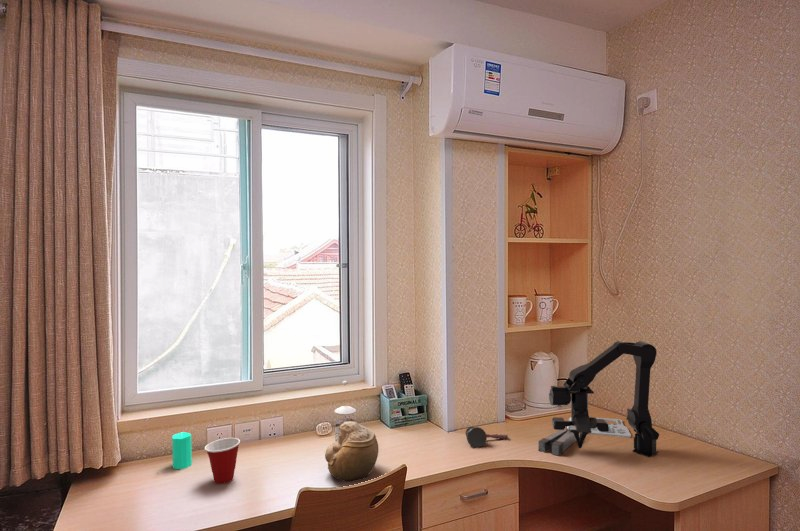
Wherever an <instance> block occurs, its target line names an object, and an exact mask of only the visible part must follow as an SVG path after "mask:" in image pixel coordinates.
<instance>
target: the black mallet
mask: <svg viewBox="0 0 800 531" xmlns="http://www.w3.org/2000/svg"><path fill="white" fill-rule="evenodd" d="M465 437H466V441H467V443H468V444H469V447H470V446H471V447H472V448H474V449H475V448H476V449H478V448H479V449H480V448H482V447H483V446H484V445H485V444H486V443H487V438H492V439H496V440H498V439H499V440H506V441H508V440H509V435H508V434H501V433H500V434H498V433H496V434H488V433H487V432H486V431H485V430H484V429H483V428H481V427H480V426H477V427H476V426H469V427H467V428H466V430H465Z"/></svg>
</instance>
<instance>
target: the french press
mask: <svg viewBox="0 0 800 531" xmlns="http://www.w3.org/2000/svg"><path fill="white" fill-rule="evenodd" d="M347 384H348V381H347V380H343V381H342V385H347ZM356 411H357V409H356V408H354V407H352V406H349V405H342V406H339V407H338V408H336V409H334V412H333V413H335V414H336V415H339V416H344V418H339V419H337V420H335V425H334V442H336V441H337V440H338V435H339V434H338V432H339V431H340V425H342V424H343V423H344V422H346V421H347V422H349V421H351V422H352V421H353V422H356V421H355V419H354V418H350V416H352V415H354V414H355V413H356ZM346 416H348V417H346Z"/></svg>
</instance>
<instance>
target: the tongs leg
mask: <svg viewBox="0 0 800 531" xmlns="http://www.w3.org/2000/svg"><path fill="white" fill-rule="evenodd" d="M575 442H576V439H575V436H574V433H573V432H570V430H569V431H568V432H566V433H565V434H564V435H563V436H562V437H560V438H559V439H558V440H557V441H555V442H554V443H552V449H551V455H555V456H560V455H562V454H563V452H565V451H566V450H567V449H568V448H569V447H570V446H571V445H572V444H573V443H575Z"/></svg>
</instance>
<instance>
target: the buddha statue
mask: <svg viewBox="0 0 800 531" xmlns="http://www.w3.org/2000/svg"><path fill="white" fill-rule="evenodd" d="M339 428H340V431H339V432H338V434H339V435H338V434H337V435H338V437H337V438H338V440H337V441H336V442H335V441H334V442H332V444H330V445H329V446H328V447H326V449H325V452H324V453H325V454H324V458H325V461H326V462H327V470H328V471H329V474H331V475H332V477H334V478H335V479H336V480H338V481H343V482H347V483H348V482H351V483H353V482H357V481H361V480H364V479H366V478H368V476H369V475H370V473H371V472H372V471H373V469H374V467H375V465H376V463H377V460H378V457H379V443H378V440H377V436H376V434H375V432H374V431H373V430H372V429H370V428H368V427H366V426H365V425H362V424H360V423H358V422H357V421H355V422H353V421H352V422H351V421H349V422H347V421H346V422H344V423H343V424H342V425H340V426H339Z"/></svg>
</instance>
